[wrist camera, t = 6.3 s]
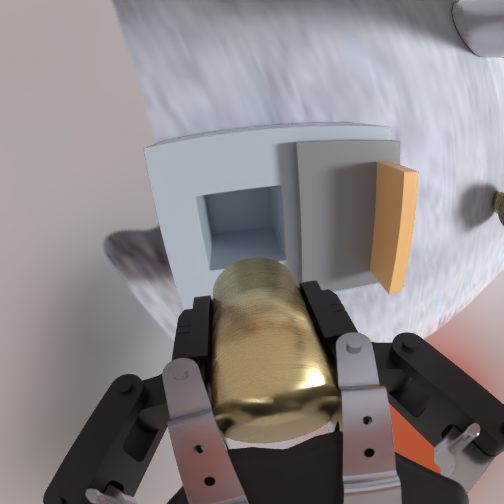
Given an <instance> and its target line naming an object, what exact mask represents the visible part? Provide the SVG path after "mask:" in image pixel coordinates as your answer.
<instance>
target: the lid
mask: <svg viewBox="0 0 504 504" xmlns="http://www.w3.org/2000/svg"><path fill="white" fill-rule="evenodd" d="M294 153H295V167H296V183H297V201H298V223H299V254H300V283H301V282H307V281H314V280H316V281H317V282H318V284H319V286H320V288H321V290H326V289H329V290H331V291H332V292H334V291H339V290H344V289H350V288H355V287H360V286H365V285H370V284H375V283H379V282H380V284H381V285H382V286H383V287H384V289H385V290H386V291H387V292H388V294H392V293H396V292H400V291H402V288H403V283H404V279H405V274H406V269H407V264H408V258H409V253H410V247H411V240H412V234H413V227H414V219H415V210H416V200H417V189H418V174H419V172H417V171H415V170H412V169H409V168H407V167H404V166H402V165H400V142H399V141H394V140H320V141H301V142H294Z"/></svg>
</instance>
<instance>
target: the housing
mask: <svg viewBox="0 0 504 504" xmlns="http://www.w3.org/2000/svg"><path fill="white" fill-rule="evenodd" d="M320 140H392V127H386V126H378V125H370V124H361V123H351V122H317V123H292V124H277V125H264V126H254V127H244V128H236V129H228V130H220V131H213V132H207V133H201V134H195V135H189V136H183V137H178V138H173V139H168V140H165V141H162V142H159V143H157V144H154V145H152V146H149V147H147V148H144V155H145V160H146V166H147V170H148V175H149V180H150V186H151V190H152V194H153V199H154V204H155V208H156V213H157V217H158V221H159V225H160V229H161V233H162V237H163V241H164V245H165V249H166V253H167V256H168V260H169V264H170V267H171V271H172V274H173V278H174V281H175V285H176V288H177V291H178V295H179V298H180V301H181V304H182V307H183V311H184V310H186V309H193V301H194V297H200V296H208V295H211V298H212V291H213V286H214V284H215V281H216V279H217V278H218V276H219V275H220V274H221V273H222V272H223V271H224V270H225V269H226V268H227V267H228V266H230V265H232V264H233V263H235V262H238V261H240V260H243V259H248V258H255V257H261V258H269V259H272V260H275V261H278V262H280V263H281V264H283V265H285V266H286V267H287V268H288V269H289V270H290V271H291V272H292V274H293V275H294V277H295V280H296V282H297V284H298V287H299V284H300V254H299V223H298V201H297V183H296V167H295V153H294V142H301V141H320ZM375 284H380V282H379V283H375ZM375 284H370V285H375ZM370 285H365V286H370ZM365 286H360V287H365ZM360 287H355V288H360ZM355 288H350V289H355ZM350 289H344V290H339V291H334V292H340V291H345V290H350ZM334 292H333V293H334Z"/></svg>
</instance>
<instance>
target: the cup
mask: <svg viewBox="0 0 504 504" xmlns="http://www.w3.org/2000/svg"><path fill="white" fill-rule="evenodd" d="M493 209H494V210H495V212H496V213H498V216H499V219H500V221H501V223H502V225H503V226H504V192H498V193H497V194H496V195H495V197H494V200H493Z"/></svg>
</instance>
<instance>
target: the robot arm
mask: <svg viewBox="0 0 504 504" xmlns="http://www.w3.org/2000/svg"><path fill="white" fill-rule="evenodd" d="M452 14H453V19H454V22H455V25H456V28H457V30H458V32H459V34H460V36H461V37H462V39H463V41H464V42H465V44H466V45H467V46H468V47H469V48H470V49H471V51H472V52H474V53H475V54H476V55H478V56H480V57H500V58H504V0H461V1H458V2H455V3H454V5H453V8H452ZM299 289H300V291H301V294H302V296H303V299H304V301H305V303H306V306H307V308H308V311H309V313H310V316H311V318H312V320H313V323H314V325H315V328H316V330H317V333H318V335H319V338H320V340H321V343H322V345H323V348H324V350H325V353H326V355H327V358H328V360H329V363H330V366H331V368H332V371H333V373H334V376H335V378H336V382H337V387H338V392H337V396H336V405H335V409H334V413H333V416H332V418H331V419H330V421H329V429H328V433H327V434H324V435H319V436H315V437H313V438H311V439H309V440H306V441H304V442H302V443H300V444H297V445H295V446H293V447H290V448H288V449H267V448H256V447H250V448H240V449H231V448H230V445H229V443H228V441H227V438H226V437H225V435H224V434H223V432H222V430H221V427H220V425H219V423H218V421H217V418H216V416H215V414H214V411H213V408H212V405H211V326H212V298H211V295H208V296H200V297H194V301H193V309H186V310H184V311H183V312H182V313H181V315H180V316H179V318H178V323H177V329H176V335H175V342H174V349H173V355H172V361H171V362H169V363H168V364H167V365H166V366H165V368H164V369H163V372H162V374H160V375H159V376H156V377H153V378H150V379H147V380H143V381H142V380H141V379H140V378H139V377H138V376H136V375H133V374H125V375H122V376H120V377H118V378H117V379H115V380H114V381H113V383H112V384H111V386H110V387H109V389H108V390H107V392H106V393H105V395H104V396H103V398H102V400H101V401H100V403H99V404H98V405H97V407H96V409H95V410H94V412H93V413H92V415H91V417H90V418H89V420H88V421H87V423H86V425H85V426H84V428H83V429H82V431H81V432H80V434H79V436H78V437H77V439H76V441H75V442H74V444H73V445H72V447H71V449H70V450H69V452H68V454H67V455H66V457H65V459H64V460H63V462H62V464H61V466H60V467H59V469H58V471H57V472H56V474H55V476H54V478H53V480H52V481H51V483H50V485H49V487H48V488H47V490H46V492H45V494H44V498H43V503H44V504H137V502H136V500H135V499H134V498H133V497H134V495H135V493H136V491H137V489H138V487H139V484H140V482H141V480H142V478H143V476H144V474H145V472H146V470H147V468H148V466H149V464H150V462H151V460H152V457H153V455H154V453H155V451H156V449H157V447H158V445H159V443H160V441H161V439H162V437H163V435H164V432H165V430H166V428H167V427H168V429H169V434H170V438H171V443H172V447H173V451H174V455H175V458H176V462H177V466H178V469H179V473H180V476H181V480H182V483H183V486H182V487H181V488H180V490H179V491H178V492H177V493H176V494H175V495H174V496H173V497H172V498H171V499H170V500H169V502H168V503H167V504H469V500H468V495H467V493H468V492H469V491H470V490H471V488H472V487H473V486H474V485H475V484H476V482H477V481H478V480H479V478H480V477H481V476H482V475H483V473H484V472H485V471H486V469H487V468H488V466H489V465H490V464H491V462H492V461H493V459H494V458H495V457H496V456H498V455H499V454H500V453H501V452H503V451H504V404H502V403H501V402H500V401H499V400H498V399H497V398H495V397H494V396H493V395H492V394H490V393H489V392H488V391H487V390H486V389H484V388H483V387H482V386H481V385H480V384H478V383H477V382H476V381H475V380H474V379H472V378H471V377H470V376H469V375H468V374H466V373H465V372H464V371H462V370H461V369H460V368H459V367H458V366H456V365H455V364H454V363H452V362H451V361H450V360H449V359H448V358H446V357H445V356H444V355H443V354H441V353H440V352H439V351H437V350H436V349H435V348H434V347H432V346H431V345H430V344H429V343H427V342H426V341H425V340H423V339H422V338H421V337H419V336H418V335H416V334H413V333H401V334H399V335H397V336H396V337H395V338H394V340H393V343H375V342H371V341H370V339H369V338H368V337H367V336H365V335H363V334H361V333H358V331H357V330H356V328H355V326H354V324H353V322H352V321H351V319H350V317H349V315H348V313H347V312H346V310H345V308H344V306H343V305H342V304H341V301H340V299H339V298H338V296H337V295H336V294H335V293H333V292H332V291H331V290H329V289H326V290H321V288H320V286H319V284H318V282H317V281H316V280H314V281H307V282H301V283H300V284H299ZM388 402H389V403H390V404H391V405H392V406H393V407H394V408H395V409H396V410H397V411H398V412H399V413H400V414H401V415H402V416H403V417H404V418H405V419H406V420H407V421H408V422H409V423H410V424H411V425H412V426H413V427H414V428H415V429H416V430H417V431H418V432H419V433H420V434H421V435H422V436H423V437H424V438H425V439H426V440H427V441H429V443H431V444H432V445H433V446H434V447H435V450H434V457H435V459H434V462H435V464H436V465H438V466H439V467H440V470H441V474H439V473H436V472H434V471H432V470H430V469H428V468H426V467H424V466H422V465H420V464H418V463H416V462H413V461H411V460H410V459H408V458H406V457H404V456H402V455H400V454H398V453H396V452H395V451H394V441H393V432H392V424H391V417H390V410H389V403H388Z"/></svg>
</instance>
